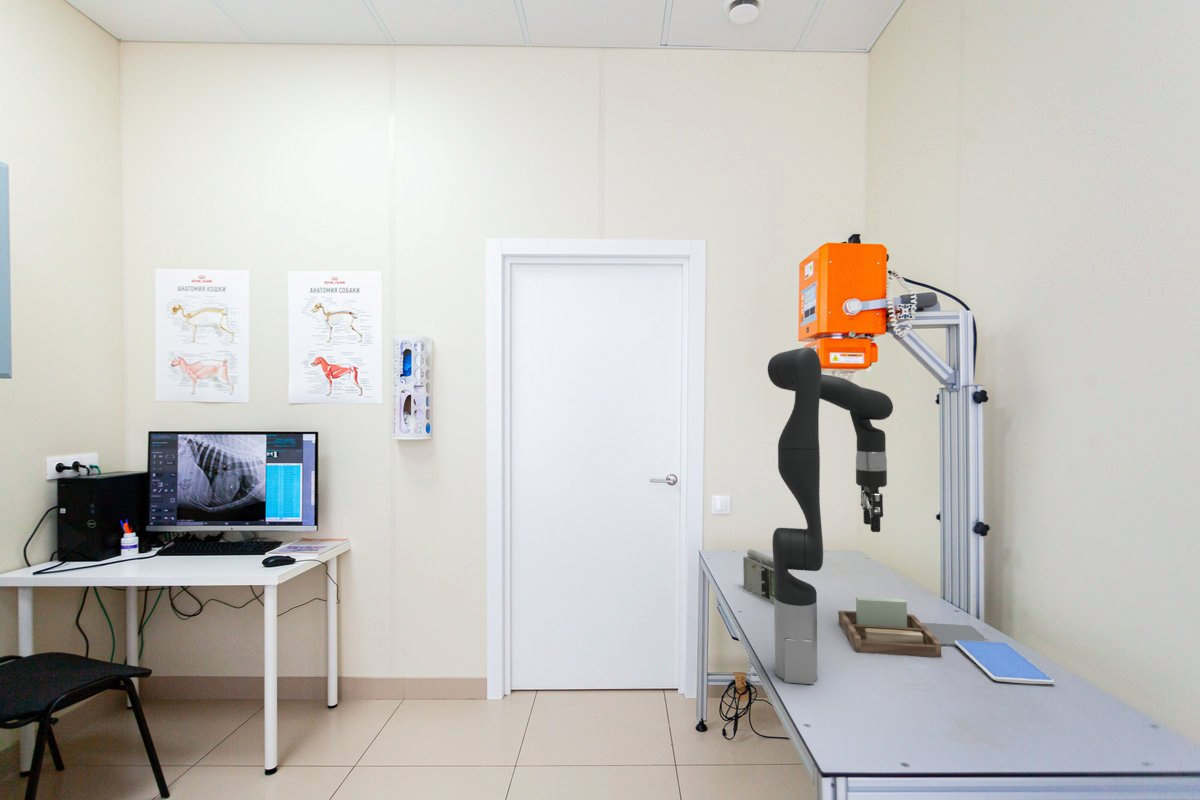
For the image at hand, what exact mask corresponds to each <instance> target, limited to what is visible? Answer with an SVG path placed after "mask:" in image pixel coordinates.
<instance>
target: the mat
mask: <svg viewBox="0 0 1200 800" xmlns="http://www.w3.org/2000/svg"><path fill="white" fill-rule="evenodd" d="M921 623H922V624H923V625H924V626H925V627H926V628H927V629H928V630H929V631H930V632H931V633H932V634H933V635H934V636H935V637H936V638H937V640H938V641H939V642H940V643H941V645H942V646H941V647H955V646H957V645H956V644H955V643H954V642H955V641H956V640H963V641H982V642H984V641H985V640H986V641H985V642H987V640H988V639H987V638H986V637H985V636H984V635H983V634H981V632H979V630H977V629H975V628H974V626H972V625H969V624H950V623H949V624H948V623H937V622H936V623H933V622H921ZM984 637H985V639H984ZM948 645H949V646H948Z"/></svg>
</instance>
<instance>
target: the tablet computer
mask: <svg viewBox="0 0 1200 800" xmlns="http://www.w3.org/2000/svg"><path fill="white" fill-rule="evenodd" d="M954 643H955V644H956V645H957V646H958V647H957V648H959V649H960V650H961V651H962V652H964V654H965V655H967V656H968V657H969V658H970V659H971V661H973V662H974V663H976V665H977V666H978V667H980V668H981V670H983V672H984V673H986V675H988V677H989V678H991V680H994V681H997V682H1003V683H1004V682H1006V683H1015V684H1016V683H1017V684H1030V685H1031V684H1032V685H1054V684H1055V680H1054V679H1053V678H1052V677H1050V676H1049V675H1048V674H1047V673H1045V672H1044V671H1043V670H1041V669H1040V668H1039V667H1038V666H1037V665H1036V664H1034V663H1033V662H1032V661H1030V660H1029V659H1028V658H1026V657H1025V656H1024V655H1023V654H1022V653H1020V652H1019V651H1018V650H1016V648H1014V647H1012V646H1011V645H1010V644H1009V643H1006V642H997V641H990V642H982V641H963V640H956V641H955V642H954Z"/></svg>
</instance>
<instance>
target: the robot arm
mask: <svg viewBox="0 0 1200 800" xmlns="http://www.w3.org/2000/svg"><path fill="white" fill-rule="evenodd" d="M767 375H768V377H769V380H770V382H771V383H772V384H773V385H774V386H775V387H777V388H778V389H782V390H787V391H791V392H795V393H794V402H793V407H792V411H791V414H790V416H789V419H788V420H787V422H786V424H785V425H784V428H783V429H782V431H781V433H780V437H779V439H778V443H777V468H778V469H777V470H778V472H779V476H780V478H782V480H783V482H784V483H785V486H786V487H787V488H788V489H789V491H790V492H791V494H792V496H793V497H794V498H795V500H796V502H797V504H798V505H799V507H800V509H801V511H802V513H803V515H804V518H805V521H806V526H807V527H806V528H794V527H778V528H775V530H773V531H774V532H773V534H772V558H773V562H774V604H773V606H774V609H773V610H774V611H773V612H774V613H773V614H774V618H773V619H774V672H775V674H776V675H777V676H778V677H779V678H781V679H782V680H783V681H784V683H791V684H805V685H815V683H814V682H815V681H817V679H818V676H819V675H818V604H817V603H818V602H817V599H818V597H817V595H818V593H817V589H816V587H815V586H813V585H812V584H811V583H808V582H807V581H803V580H801V579H800V578H798V577H795V576H794V575H793V573H792V574H791V572H790V571H789V570H792V571H793V570H796V571H807V572H818V571H820V570H821V569H822V566H823V564H824V542H823V530H822V527H823V526H822V519H821V518H822V517H821V505H820V504H821V501H820V498H821V497H820V488H821V487H820V485H821V484H820V481H821V478H820V477H821V476H820V475H821V474H820V473H821V472H820V469H821V464H820V463H821V457H820V456H821V455H820V454H821V453H820V435H819V434H820V433H819V431H820V429H819V427H820V426H819V424H820V423H819V420H820V419H819V417H820V415H819V411H820V400H823V401H825V402H828V403H830V404H832V405H834V406H837V407H839V408H842V409H844V410H845V411H849V415H850V418H851V421H852V424H853V425H852V426H853V427H854V432H855V434H856V435H855V436H856V455H855V484H856V485H858V486H859V487H860V507H861V508H862V510H863V524H865V525H870V532H872V533H880V532H881V518H883V517H884V509H883V508H884V500H883V497H884V495H883V493H881V492H879V491H880V490H879V489H880V488H885V487H887V485H888V460H887V453H886V451H887V450H886V438H887V437H886V433H885V431H884V430H882V429H880V428H877V427H874V426H873V424H872V421H882V420H883V421H884V420H885V419H888V418H890V416H891V415H892V413H893V410H894V405H893V402H892V399H891V398H890V396H888V394H886V393H884V392H882V391H878V390H875V389H871V388H866V387H863V386H860V385H858V384H856V383H854V382H853V381H850V380H848V379H846V378H843V377H840V376H835V375H830V374H824V373H822V365H821V359H820V356H819V354H818V352H817V351H816V350H814V348H811V347H807V346H806V347H801V348H796V349H791V350H786V351H782V352H779V353H777V354H775V355H773V356H772V357H771V358H770V360H769V362H768V365H767ZM871 420H872V421H871ZM788 571H789V572H788Z"/></svg>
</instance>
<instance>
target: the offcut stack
mask: <svg viewBox="0 0 1200 800" xmlns="http://www.w3.org/2000/svg"><path fill="white" fill-rule="evenodd" d="M864 641H877V642H893V643H908V644H923V635H922V633H921V632H913V631H905V630H889V629H872V628H867V629H865V640H864Z"/></svg>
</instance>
